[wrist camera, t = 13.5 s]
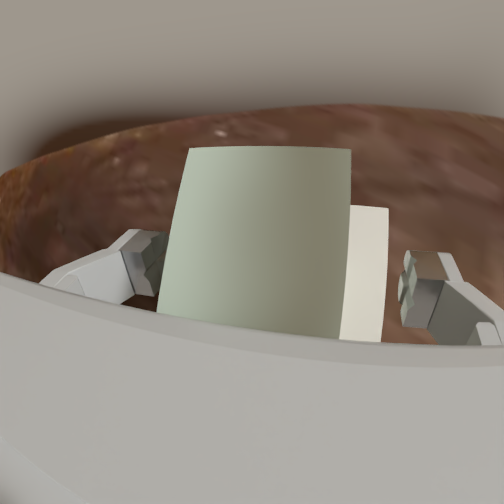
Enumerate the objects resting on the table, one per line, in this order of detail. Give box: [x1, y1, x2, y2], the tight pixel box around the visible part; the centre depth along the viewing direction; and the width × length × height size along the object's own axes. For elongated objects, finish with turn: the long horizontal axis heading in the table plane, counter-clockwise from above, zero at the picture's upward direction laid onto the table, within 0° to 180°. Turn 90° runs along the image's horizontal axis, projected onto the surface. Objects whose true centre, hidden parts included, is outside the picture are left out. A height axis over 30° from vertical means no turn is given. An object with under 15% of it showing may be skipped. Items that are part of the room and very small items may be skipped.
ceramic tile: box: [339, 205, 388, 342], centre depth 18 cm, size 10×12×1 cm
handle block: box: [157, 146, 351, 339], centre depth 12 cm, size 4×5×12 cm
